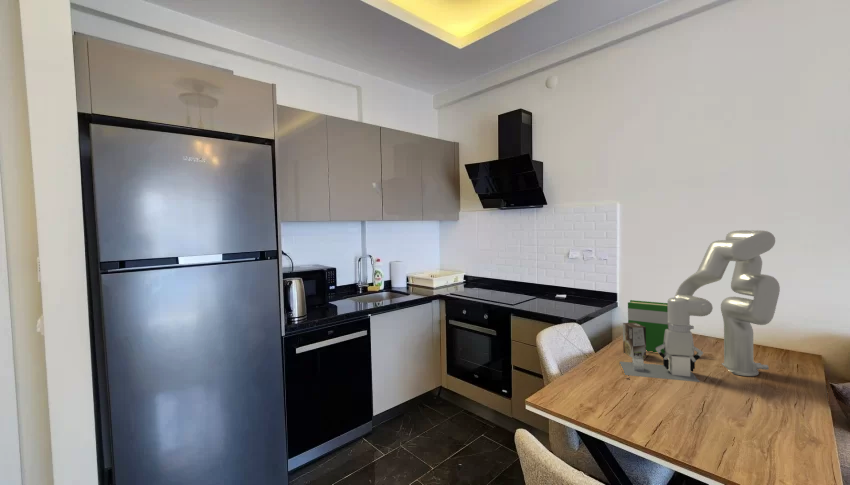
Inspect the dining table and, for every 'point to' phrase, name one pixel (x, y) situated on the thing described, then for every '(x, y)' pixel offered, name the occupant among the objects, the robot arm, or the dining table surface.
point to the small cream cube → (679, 365)
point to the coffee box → (634, 339)
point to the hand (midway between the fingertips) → (678, 369)
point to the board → (655, 372)
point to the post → (638, 363)
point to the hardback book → (650, 321)
